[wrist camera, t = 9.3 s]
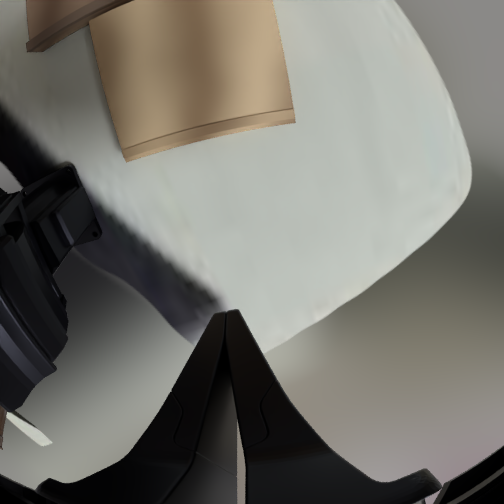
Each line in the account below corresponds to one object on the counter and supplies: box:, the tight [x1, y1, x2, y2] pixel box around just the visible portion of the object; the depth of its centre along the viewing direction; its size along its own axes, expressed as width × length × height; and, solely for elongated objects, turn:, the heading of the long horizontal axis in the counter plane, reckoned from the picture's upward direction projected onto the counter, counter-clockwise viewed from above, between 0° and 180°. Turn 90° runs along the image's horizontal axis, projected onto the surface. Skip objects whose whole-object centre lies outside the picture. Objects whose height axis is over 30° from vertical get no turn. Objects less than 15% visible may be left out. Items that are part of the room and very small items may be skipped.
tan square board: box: [89, 0, 296, 162], centre depth 13 cm, size 11×11×2 cm
